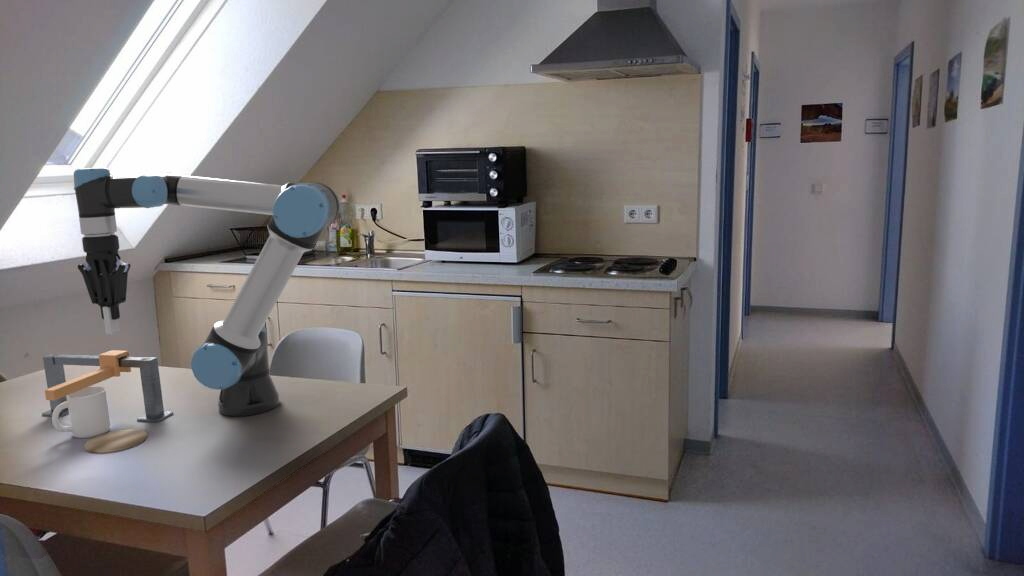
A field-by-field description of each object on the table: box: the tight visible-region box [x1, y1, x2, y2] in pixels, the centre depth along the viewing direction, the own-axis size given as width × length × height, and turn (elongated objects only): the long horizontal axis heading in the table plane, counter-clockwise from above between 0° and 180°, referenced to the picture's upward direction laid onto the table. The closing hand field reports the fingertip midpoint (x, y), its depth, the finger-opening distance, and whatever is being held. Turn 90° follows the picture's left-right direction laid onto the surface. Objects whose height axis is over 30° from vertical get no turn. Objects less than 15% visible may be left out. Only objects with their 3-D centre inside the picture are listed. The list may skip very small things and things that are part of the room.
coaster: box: [84, 428, 148, 454], centre depth 177 cm, size 13×13×1 cm
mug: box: [51, 386, 111, 439], centre depth 182 cm, size 12×8×10 cm
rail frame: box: [41, 353, 174, 423], centre depth 195 cm, size 35×6×16 cm, turn 77°
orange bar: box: [44, 349, 132, 401], centre depth 184 cm, size 5×23×6 cm, turn 167°
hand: (113, 332), depth 182 cm, fingers closed
